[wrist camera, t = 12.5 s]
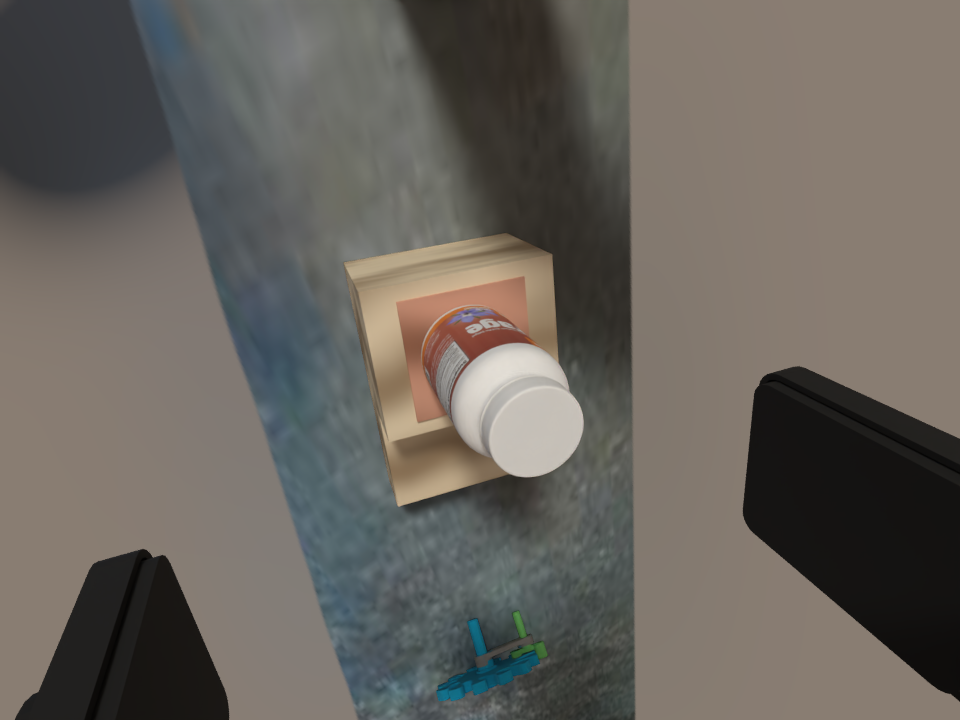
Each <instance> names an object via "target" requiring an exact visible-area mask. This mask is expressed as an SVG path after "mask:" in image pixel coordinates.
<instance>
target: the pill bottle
mask: <svg viewBox="0 0 960 720" xmlns="http://www.w3.org/2000/svg"><path fill="white" fill-rule="evenodd" d="M421 362H422V367H423V371H424V373H425V376H426V378H427V380H428V382H429V383H430V385H431V387H432V388H433V390H434V392H435V394H436V396H437V397H438V399H439V401H440V403H441V404H442V406H443V408H444V409H445V411H446V413H447V415H448V416H449V418H450V420H451V421H452V423H453V425H454V427H455V428H456V430H457V432H458V434H459V435H460V437H461V438H462V439H463V441H464V442H465V443H466V444H467V445H468V446H469V447H470V448H471V449H473V450H474V451H476V452H478V453H479V454H481V455H484V456H486V457H490V458H492V459H493V460H494V461H495V463H496V464H497V465H498V466H499V467H500V468H501V469H502V470H504V471H505V472H507V473H509V474H512V475H514V476H518V477H536V476H540V475H544V474H546V473H549V472H551V471H553V470H554V469H556V468H558V467H559V466H560V465H562V464H563V463H564V462H565V461H566V460H567V459H568V458H569V457H570V456H571V455H572V453H573V452H574V451H575V449H576V448H577V446H578V444H579V442H580V439H581V436H582V432H583V424H584V420H583V414H582V410H581V407H580V405H579V403H578V402H577V400H576V399H575V398H574V396H573V395H572V394H571V393H570V392H569V385H568V381H567V378H566V376H565V374H564V372H563V370H562V368H561V367H560V365H559V364H558V362H557V361H556V360H555V359H554V358H553V357H552V356H551V355H550V354H549V353H547V352H546V351H545V350H544V349H543V348H541V347H540V346H539V345H538V344H537V343H536V342H534V341H533V340H532V339H531V338H530V337H528V336H527V335H526V334H525V333H524V332H523V331H521V330H520V329H519V328H518V327H517V326H515V325H514V324H513V323H512V322H511V321H510V320H509V319H507V318H506V317H505V316H504V315H502V314H501V313H500V312H498V311H496V310H495V309H492V308H490V307H487V306H483V305H465V306H460V307H457V308H454V309H452V310H450V311H448V312H446V313H445V314H443V315H442V316H441V317H439V318H438V319H437V320H436V321H435V322H434V323H433V324H432V326H431V327H430V329H429V330H428V332H427V334H426V336H425V338H424V341H423V345H422V350H421Z"/></svg>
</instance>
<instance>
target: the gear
mask: <svg viewBox="0 0 960 720" xmlns="http://www.w3.org/2000/svg"><path fill="white" fill-rule="evenodd" d="M512 615H513V618H514V621H515V624H516V627H517V630H518V634H519V637H520V638H517V639H515V640H512V641H510V642H508V643H505V644H503V645H500V646H498V647H496V648H493V649H491V650H488V651H487V649H486V646H485V643H484V639H483V636H482V632H481V629H480V626H479V622H478V619H477V618H476V619H473V620H470V621H468V622H467V623H468V626H469V630H470V633H471V637H472V640H473V644H474V647H475V650H476V654H477V656H475V657H474V659H475V662H476V666H475V667H472V668H470V669H468V670H466V671H467V673H464V674H460V675H455V676H453V677H451V678H449V679H448V682H446V683H443V684H441V685H438V689H439V690H437V691H436V692H437V696H438V700H439V701H444V700H447V699H449V698H450V699H451V701H454V700H458V699H461V698H463V697H465V693H467V692H469V691H473V693H474V695H478V694H480V693H483V692H485V691H488V689H489V688H492V687H494V686H496V685H497V684H499V685H505V684H507V683H509V682H511V681H512V680H514V679H513V676H517V675H523V674H526V673H529V672H530V671H531V670H532V668H531V667H532V666H536V665H538V664H540V662H539V659H542V658H545V657H547V656H548V654H547V651H546V648H545V645H544V642H543V641H540V642H537V643H535V644H532V643H533V642H534V641H533V638H532V634H528V635H527V634H526V631H525V628H524V625H523V621H522V618H521V615H520V612H519V611H516V612H513V613H512ZM531 644H532V645H531ZM516 646H518V648H520V647H521V649H517V650H514V651H512V652H510V653H511V655H509V656H508V657H509V658H508V659H505V660H502V661H501V658H500V657H499V658H496V659H494V660H493V658H492V657H493V656H495V655H497V654H500V653H502V652H505V651H507V650H509V649H512V648H514V647H516ZM534 649H535V650H534ZM535 652H536V653H535Z"/></svg>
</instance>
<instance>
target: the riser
mask: <svg viewBox="0 0 960 720" xmlns="http://www.w3.org/2000/svg"><path fill="white" fill-rule="evenodd" d="M344 268H345V273H346V277H347V282H348V287H349V292H350V296H351V301H352V306H353V311H354V315H355V320H356V325H357V329H358V334H359V339H360V344H361V348H362V353H363V358H364V363H365V367H366V372H367V377H368V382H369V386H370V391H371V396H372V401H373V405H374V410H375V415H376V420H377V424H378V429H379V434H380V439H381V443H382V448H383V453H384V457H385V462H386V467H387V472H388V476H389V480H390V483H391V486H392V489H393V492H394V496H395V499H396V502H397V505H398V507H399V506H402V505H405V504H409V503H412V502H416V501H419V500H423V499H426V498H429V497H433V496H436V495H440V494H443V493H446V492H450V491H453V490H457V489H460V488H464V487H467V486H470V485H474V484H477V483H481V482H484V481H487V480H491V479H494V478H498V477H501V476H505V475H508V474H509V473H507V472H505V471H504V470H502V469H501V468H500V467H499V466H498V465H497V464H496V463H495V461H494V460H493V459H492V458H490V457H486V456H484V455H481V454H479V453H478V452H476V451H474V450H473V449H471V448H470V447H469V446H468V445H467V444H466V443H465V442H464V441H463V439H462V438H461V437H460V435H459V434H458V432H457V430H456V428H455V427H454V425H453V423H452V421H451V420H450V418H449V416H448V415H447V413H446V411H445V409H444V408H443V406H442V404H441V403H440V401H439V399H438V397H437V396H436V394H435V392H434V390H433V388H432V387H431V385H430V383H429V382H428V380H427V378H426V376H425V373H424V371H423V367H422V362H421V350H422V345H423V341H424V338H425V336H426V334H427V332H428V330H429V329H430V327H431V326H432V324H433V323H434V322H435V321H436V320H437V319H438V318H439V317H441V316H442V315H443V314H445V313H446V312H448V311H450V310H452V309H454V308H457V307H460V306H465V305H483V306H487V307H490V308H492V309H495V310H496V311H498V312H500V313H501V314H502V315H504V316H505V317H506V318H507V319H509V320H510V321H511V322H512V323H513V324H514V325H515V326H517V327H518V328H519V329H520V330H521V331H523V332H524V333H525V334H526V335H527V336H528V337H530V338H531V339H532V340H533V341H534V342H536V343H537V344H538V345H539V346H540V347H541V348H543V349H544V350H545V351H546V352H547V353H549V354H550V355H551V356H552V357H553V358H554V359H555V360H556V361H557V362H558V346H557V328H556V311H555V294H554V277H553V260H552V254H550V253H548V252H546V251H544V250H542V249H540V248H538V247H535V246H533V245H531V244H529V243H527V242H525V241H522V240H520V239H518V238H516V237H514V236H512V235H510V234H507V233H503V234H498V235H492V236H487V237H481V238H476V239H470V240H465V241H459V242H454V243H448V244H443V245H437V246H432V247H426V248H421V249H415V250H410V251H404V252H399V253H393V254H388V255H382V256H377V257H371V258H366V259H360V260H355V261H349V262H344ZM558 364H559V363H558Z"/></svg>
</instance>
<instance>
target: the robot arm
mask: <svg viewBox="0 0 960 720" xmlns="http://www.w3.org/2000/svg"><path fill="white" fill-rule="evenodd" d="M743 516H744V520H745V522H746V524H747V526H748V527H749V529H750V530H751V531H752V532H753V533H754V534H755V535H757V536H758V537H759V538H760V539H761V540H762V541H763V542H765V543H766V544H767V545H768V546H769V547H770V548H772V549H773V550H774V551H775V552H776V553H778V554H779V555H780V556H781V557H782V558H783V559H785V560H786V561H787V562H788V563H790V564H791V565H792V566H793V567H794V568H795V569H796V570H798V571H799V572H800V573H801V574H802V575H803V576H805V577H806V578H807V579H808V580H809V581H811V582H812V583H813V584H814V585H815V586H816V587H817V588H819V589H820V590H821V591H822V592H823V593H825V594H826V595H827V596H828V597H829V598H830V599H832V600H833V601H834V602H835V603H836V604H837V605H839V606H840V607H841V608H842V609H843V610H844V611H846V612H847V613H848V614H849V615H850V616H852V617H853V618H854V619H855V620H856V621H858V622H859V623H860V624H861V625H862V626H863V627H864V628H866V629H867V630H868V631H869V632H870V633H872V634H873V635H874V636H875V637H876V638H877V639H878V640H880V641H881V642H882V643H883V644H884V645H886V646H887V647H888V648H889V649H890V650H891V651H893V652H894V653H895V654H896V655H897V656H899V657H900V658H901V659H902V660H903V661H904V662H906V663H907V664H908V665H909V666H910V667H911V668H913V669H914V670H915V671H916V672H917V673H918V674H920V675H921V676H922V677H923V678H924V679H926V680H927V681H928V682H929V683H930V684H931V685H933V686H934V687H936V688H937V689H938V690H940V691H943V692H945V693H948V694H952V695H953V696H954V697H955V698H956V699H958V700H959V701H960V439H959V438H957V437H955V436H952V435H950V434H948V433H946V432H944V431H941V430H939V429H937V428H935V427H933V426H930V425H928V424H926V423H924V422H922V421H919V420H917V419H915V418H913V417H911V416H909V415H906V414H904V413H902V412H900V411H898V410H896V409H893V408H891V407H889V406H887V405H885V404H882V403H880V402H878V401H876V400H874V399H872V398H869V397H867V396H865V395H863V394H861V393H858V392H856V391H854V390H852V389H850V388H847V387H845V386H843V385H841V384H839V383H836V382H834V381H832V380H830V379H828V378H825V377H823V376H821V375H819V374H817V373H815V372H813V371H810V370H808V369H806V368H803V367H792V368H788V369H784V370H781V371H777V372H774V373H770V374H767V375H766V376H764V377H763V378H762V380H761V381H760V384H759V386H758V387H757V389H756V390H755V393H754V402H753V411H752V422H751V431H750V442H749V452H748V463H747V473H746V483H745V493H744V503H743ZM15 720H229V708H228V700H227V696H226V692H225V690H224V687H223V685H222V682H221V680H220V678H219V676H218V673H217V671H216V669H215V666H214V664H213V662H212V659H211V657H210V655H209V652H208V650H207V648H206V645H205V643H204V641H203V639H202V636H201V634H200V631H199V629H198V627H197V624H196V622H195V620H194V618H193V615H192V613H191V611H190V608H189V606H188V604H187V601H186V599H185V597H184V594H183V592H182V590H181V587H180V585H179V583H178V580H177V578H176V576H175V573H174V571H173V569H172V566H171V564H170V562H169V560H168V559H167V558H166V556H163V555H161V556H157V557H154V558H153V557H152V555H151V554H150V553H149V552H148V551H147V550H145V549H141V550H138V551H134V552H130V553H127V554H123V555H120V556H116V557H112V558H109V559H105V560H102V561H98V562H96V563H94V564H93V565H92V567H91V568H90V570H89V572H88V575H87V577H86V579H85V582H84V584H83V587H82V589H81V591H80V594H79V596H78V598H77V601H76V603H75V606H74V608H73V610H72V613H71V615H70V618H69V620H68V622H67V625H66V627H65V630H64V632H63V634H62V637H61V639H60V642H59V644H58V646H57V649H56V651H55V654H54V656H53V658H52V661H51V663H50V666H49V668H48V670H47V673H46V675H45V678H44V680H43V682H42V685H41V687H40V690H39V692H38V693H35V694H33V695H32V696H31V697H30V698H29V699H28V700H27V701H25V702H24V704H23V706H22V707H21V709H20V711H19V713H18V714H17V716H16V718H15Z"/></svg>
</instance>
